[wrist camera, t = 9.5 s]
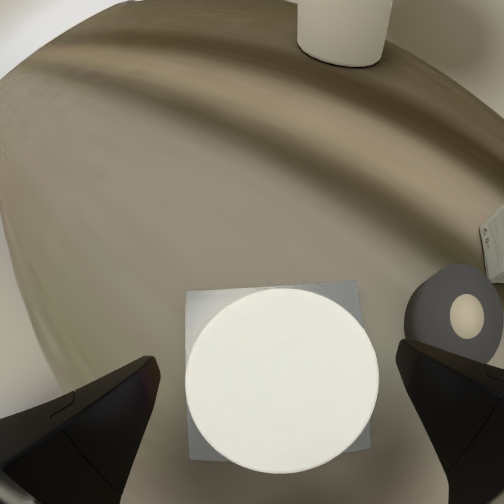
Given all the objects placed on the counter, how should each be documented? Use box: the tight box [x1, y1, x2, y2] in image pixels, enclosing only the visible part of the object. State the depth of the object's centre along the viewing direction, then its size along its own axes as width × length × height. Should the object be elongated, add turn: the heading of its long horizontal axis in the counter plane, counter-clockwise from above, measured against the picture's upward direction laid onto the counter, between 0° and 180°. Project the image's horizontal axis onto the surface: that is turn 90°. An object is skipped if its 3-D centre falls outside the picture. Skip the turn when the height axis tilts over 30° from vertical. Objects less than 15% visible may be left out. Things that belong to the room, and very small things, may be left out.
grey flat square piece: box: [186, 280, 371, 462], centre depth 19 cm, size 12×12×1 cm
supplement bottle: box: [185, 288, 379, 474], centre depth 12 cm, size 7×7×13 cm
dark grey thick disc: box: [404, 263, 503, 364], centre depth 18 cm, size 8×8×3 cm
